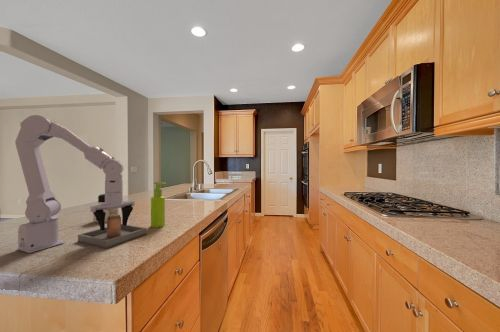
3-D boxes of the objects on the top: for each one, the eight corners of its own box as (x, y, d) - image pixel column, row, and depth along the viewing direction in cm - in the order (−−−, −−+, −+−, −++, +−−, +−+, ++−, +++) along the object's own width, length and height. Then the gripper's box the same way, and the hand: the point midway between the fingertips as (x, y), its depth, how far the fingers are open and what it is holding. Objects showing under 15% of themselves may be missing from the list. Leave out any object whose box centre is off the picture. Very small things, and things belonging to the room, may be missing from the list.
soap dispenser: (161, 227, 95) (161, 182, 94) (147, 226, 96) (147, 182, 96) (169, 224, 100) (169, 181, 100) (156, 223, 102) (156, 181, 102)
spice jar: (109, 239, 79) (109, 218, 79) (104, 236, 82) (104, 216, 82) (122, 235, 82) (123, 215, 82) (118, 233, 85) (118, 213, 85)
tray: (106, 248, 71) (106, 241, 71) (77, 241, 78) (77, 234, 78) (146, 234, 86) (146, 228, 86) (119, 229, 93) (119, 223, 92)
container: (108, 222, 103) (108, 195, 103) (92, 222, 103) (92, 195, 103) (118, 218, 111) (118, 193, 110) (104, 218, 111) (104, 193, 111)
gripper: (128, 189, 90) (128, 221, 90) (87, 193, 78) (87, 230, 78) (137, 190, 86) (137, 224, 86) (94, 195, 74) (94, 233, 74)
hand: (113, 227), depth 82 cm, fingers open, 7 cm apart
